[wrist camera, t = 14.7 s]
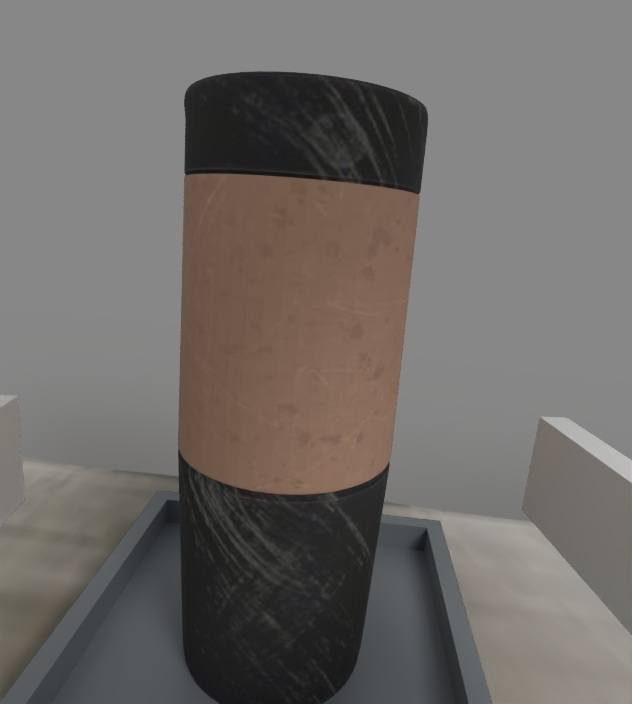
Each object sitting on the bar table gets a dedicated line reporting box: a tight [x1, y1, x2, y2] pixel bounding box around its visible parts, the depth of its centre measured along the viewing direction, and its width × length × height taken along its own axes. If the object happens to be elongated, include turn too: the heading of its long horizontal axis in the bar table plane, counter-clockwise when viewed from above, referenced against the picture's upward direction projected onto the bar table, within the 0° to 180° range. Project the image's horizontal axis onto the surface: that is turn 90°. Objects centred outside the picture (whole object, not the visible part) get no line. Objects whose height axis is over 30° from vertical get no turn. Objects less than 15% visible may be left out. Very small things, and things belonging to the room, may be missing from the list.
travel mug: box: [178, 72, 428, 704], centre depth 18 cm, size 8×8×20 cm
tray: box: [0, 491, 492, 704], centre depth 21 cm, size 16×16×2 cm
